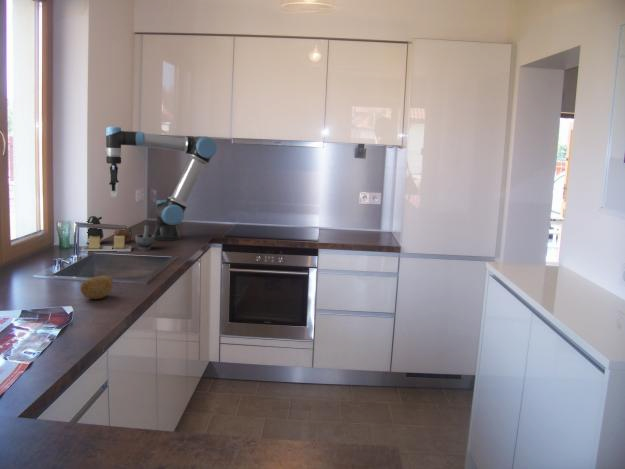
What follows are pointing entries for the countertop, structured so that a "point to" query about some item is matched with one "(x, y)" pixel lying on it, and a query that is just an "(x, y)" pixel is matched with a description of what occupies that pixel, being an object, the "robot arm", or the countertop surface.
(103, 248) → the rack rail
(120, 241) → the nut block
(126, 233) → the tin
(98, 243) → the pale yellow block
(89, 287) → the potato
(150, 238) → the mortar and pestle
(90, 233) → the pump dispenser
